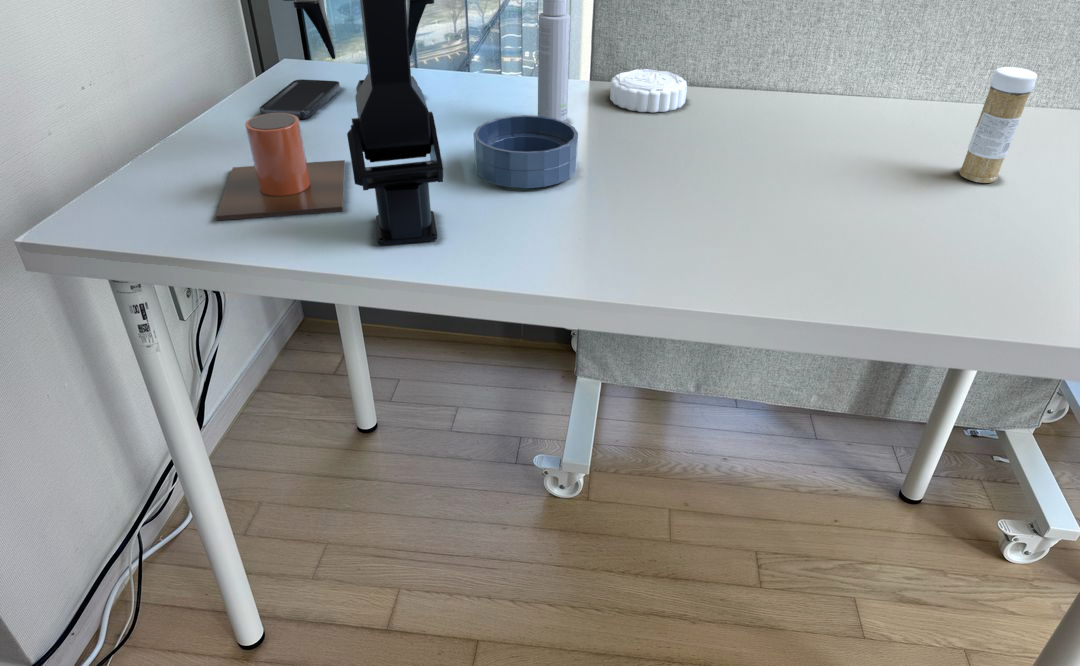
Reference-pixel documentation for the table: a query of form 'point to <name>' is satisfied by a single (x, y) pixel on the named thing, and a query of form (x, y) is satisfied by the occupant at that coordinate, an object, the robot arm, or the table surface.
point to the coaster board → (252, 203)
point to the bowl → (525, 151)
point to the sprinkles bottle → (997, 123)
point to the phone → (301, 98)
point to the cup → (278, 153)
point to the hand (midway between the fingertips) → (371, 56)
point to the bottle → (553, 60)
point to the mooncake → (648, 90)
